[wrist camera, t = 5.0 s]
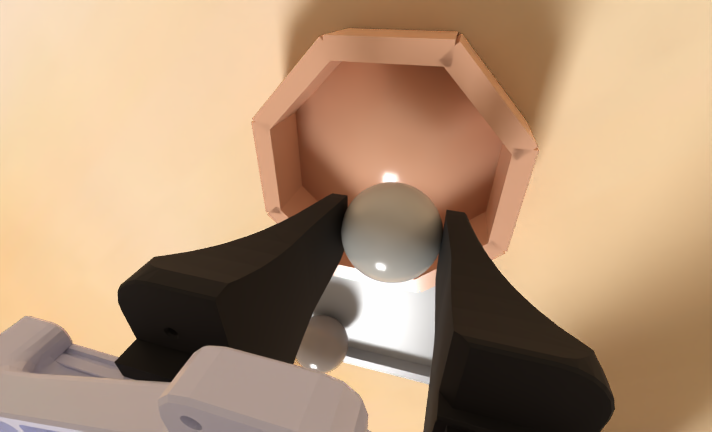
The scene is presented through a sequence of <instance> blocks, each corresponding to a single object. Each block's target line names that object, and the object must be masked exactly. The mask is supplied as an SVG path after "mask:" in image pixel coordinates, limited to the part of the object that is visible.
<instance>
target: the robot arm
mask: <svg viewBox="0 0 712 432" xmlns="http://www.w3.org/2000/svg"><path fill="white" fill-rule="evenodd" d="M347 208H348V195H341V194H334V193H332V194H330V195H328V196H326V197H324V198H323V199H321V200H319V201H318V202H316V203H314V204H313V205H311V206H309V207H308V208H306V209H304V210H302V211H301V212H299V213H297V214H295V215H293V216H291V217H290V218H288V219H286V220H284V221H282V222H280V223H278V224H276V225H274V226H272V227H269V228H267V229H265V230H262V231H260V232H257V233H255V234H252V235H249V236H247V237H243V238H240V239H237V240H234V241H231V242H228V243H224V244H221V245H217V246H213V247H209V248H204V249H200V250H195V251H190V252H184V253H178V254H171V255H165V256H158V257H154V258H152V259H151V260H150V261H149V262H148V263H146V264H145V265H144V266H143V267H142V268H140V269H139V270H138V271H137V272H136V273H134V274H133V275H132V276H131V277H130V278H128V279H127V280H126V281H125V282H124V283H122V284H121V285H120V287H119V289H118V303H119V305H120V308H121V310H122V312H123V314H124V316H125V318H126V320H127V322H128V323H129V325H130V327H131V329H132V331H133V333H134V335H135V337H136V340H135V341H134V342H133V343H132V344H131V345H130V346H129V348H128V349H127V350H126V351H125V352H124V353H123V354H122V355H121V356H120V357H116V356H113V355H109V354H106V353H103V352H99V351H96V350H93V349H89V348H86V347H83V346H79V345H76V344H73V343H72V340H71V338H70V336H69V335H68V333H67V332H66V331H65V330H64V329H63V328H62V327H60V326H59V325H57V324H55V323H52V322H49V321H45V320H42V319H39V318H35V317H32V316H25V317H23V318H22V319H20V320H19V321H18V322H16V323H15V324H13V325H12V326H11V327H9V328H8V329H7V330H5V331H4V332H2V333H1V334H0V432H371V431H369V430H368V429H367V427H368V413H367V411H366V408H365V405H364V403H363V400H362V399H361V397H360V395H358V394H357V393H356V392H355V391H354V390H353V389H352V388H350V387H349V386H348V385H347V384H346V383H345V382H343V381H341V380H339V379H336V378H334V377H332V376H329V375H327V374H325V373H322V372H319V371H315V370H311V369H307V368H304V367H300V366H296V365H293V364H294V361H295V358H296V355H297V353H298V350H299V347H300V345H301V342H302V339H303V337H304V334H305V332H306V329H307V327H308V324H309V322H310V319H311V317H312V314H313V312H314V310H315V308H316V306H317V304H318V302H319V300H320V298H321V296H322V295H323V293H324V291H325V289H326V287H327V285H328V283H329V281H330V280H331V278H332V276H333V274H334V272H335V270H336V268H337V266H338V264H339V262H340V260H341V258H342V255H343V252H344V248H343V244H342V238H341V226H342V221H343V217H344V214H345V212H346V210H347ZM614 410H615V406H614V397H613V394H612V392H611V389H610V386H609V383H608V381H607V378H606V376H605V374H604V371H603V369H602V367H601V365H600V363H599V361H598V359H597V357H596V355H595V353H594V351H593V350H592V349H591V348H589V347H588V346H586V345H585V344H583V343H582V342H580V341H579V340H577V339H576V338H575V337H573V336H572V335H570V334H569V333H567V332H566V331H564V330H563V329H561V328H560V327H559V326H557V325H556V324H555V323H554V322H552V321H551V320H550V319H549V318H547V317H546V316H545V315H543V314H542V313H541V312H540V311H539V310H537V309H536V308H535V307H534V306H533V305H532V304H531V303H529V302H528V301H527V300H526V299H525V298H524V297H523V296H522V295H521V294H520V293H519V292H518V291H517V290H516V289H515V288H514V287H513V286H512V285H511V284H510V283H509V282H508V281H507V279H506V278H505V277H504V276H503V275H502V274H501V272H500V271H499V270H498V268H497V267H496V266H495V264H494V263H493V262H492V260H491V259H490V257H489V256H488V254H487V253H486V251H485V250H484V248H483V246H482V245H481V243H480V241H479V240H478V238H477V236H476V234H475V232H474V230H473V228H472V226H471V224H470V222H469V219H468V217H467V215H466V214H465V212H459V211H452V210H446V216H445V222H444V227H443V237H442V243H441V249H440V252H439V256H438V263H437V270H436V278H435V336H434V348H433V357H432V365H431V374H430V382H429V391H428V399H427V407H426V415H425V423H424V431H423V432H600V431H601V430H602V429H603V427H604V426H605V425H606V424H607V422H608V421H609V420H610V418H611V416H612V414H613V412H614Z"/></svg>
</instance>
